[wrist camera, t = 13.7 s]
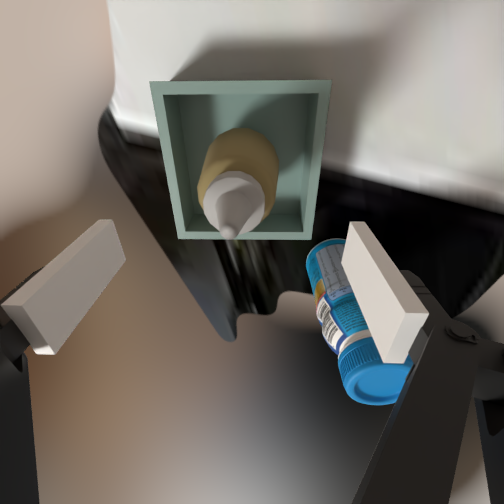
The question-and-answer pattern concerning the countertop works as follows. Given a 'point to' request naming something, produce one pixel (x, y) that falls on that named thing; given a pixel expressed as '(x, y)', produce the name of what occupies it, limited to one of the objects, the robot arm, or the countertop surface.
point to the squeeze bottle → (238, 181)
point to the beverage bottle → (351, 330)
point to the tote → (258, 119)
